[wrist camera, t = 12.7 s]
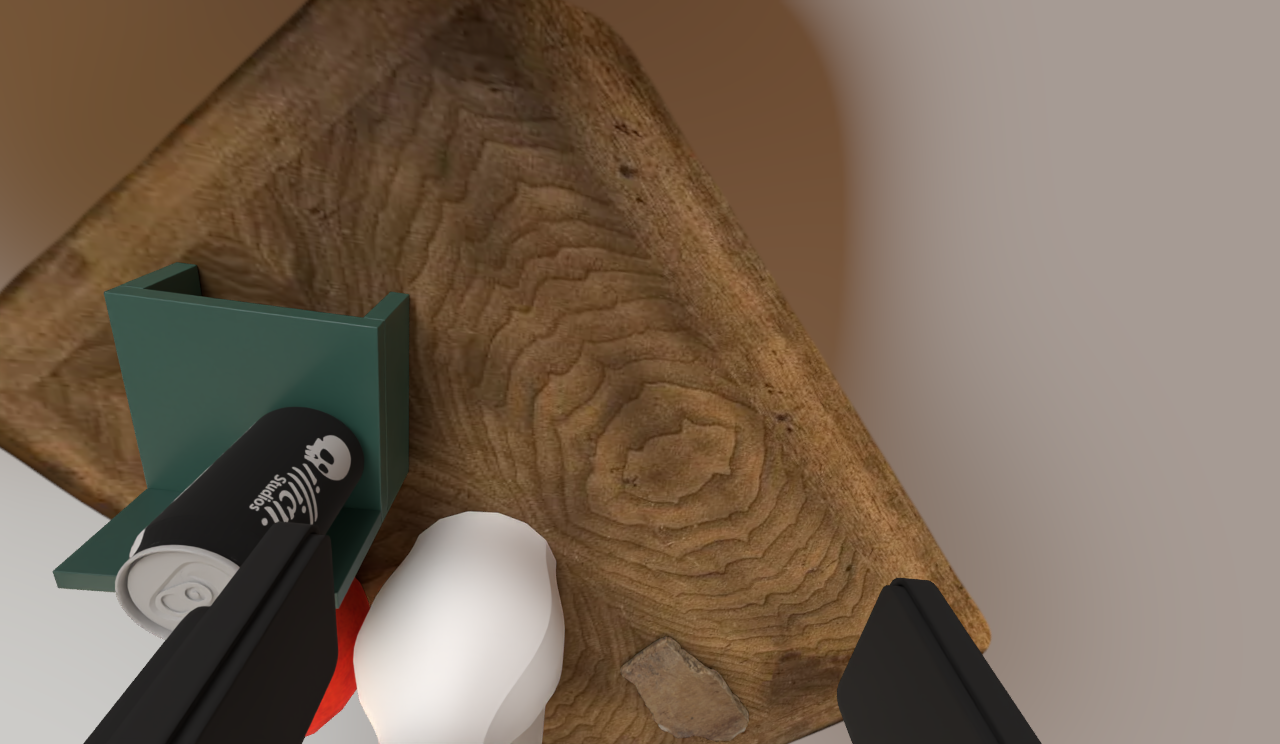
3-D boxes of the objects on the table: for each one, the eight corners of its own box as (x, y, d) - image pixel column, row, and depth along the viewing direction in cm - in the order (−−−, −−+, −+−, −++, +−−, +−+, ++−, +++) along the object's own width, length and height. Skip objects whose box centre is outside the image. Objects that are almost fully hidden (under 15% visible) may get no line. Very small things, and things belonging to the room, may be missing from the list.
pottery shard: (767, 688, 59) (665, 629, 53) (775, 714, 57) (670, 655, 50) (705, 729, 61) (600, 676, 55) (710, 755, 59) (602, 703, 53)
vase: (509, 471, 45) (445, 728, 27) (601, 591, 50) (600, 870, 32) (356, 545, 47) (202, 829, 29) (461, 652, 53) (387, 945, 35)
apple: (241, 567, 47) (131, 712, 36) (342, 518, 46) (259, 654, 35) (324, 642, 51) (248, 793, 40) (419, 600, 50) (368, 745, 39)
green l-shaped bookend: (176, 262, 37) (-24, 342, 25) (409, 294, 38) (324, 383, 27) (207, 450, 42) (57, 588, 31) (408, 471, 44) (338, 609, 32)
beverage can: (391, 465, 37) (303, 621, 26) (306, 506, 38) (187, 673, 27) (320, 381, 34) (190, 517, 23) (231, 428, 35) (65, 579, 24)
